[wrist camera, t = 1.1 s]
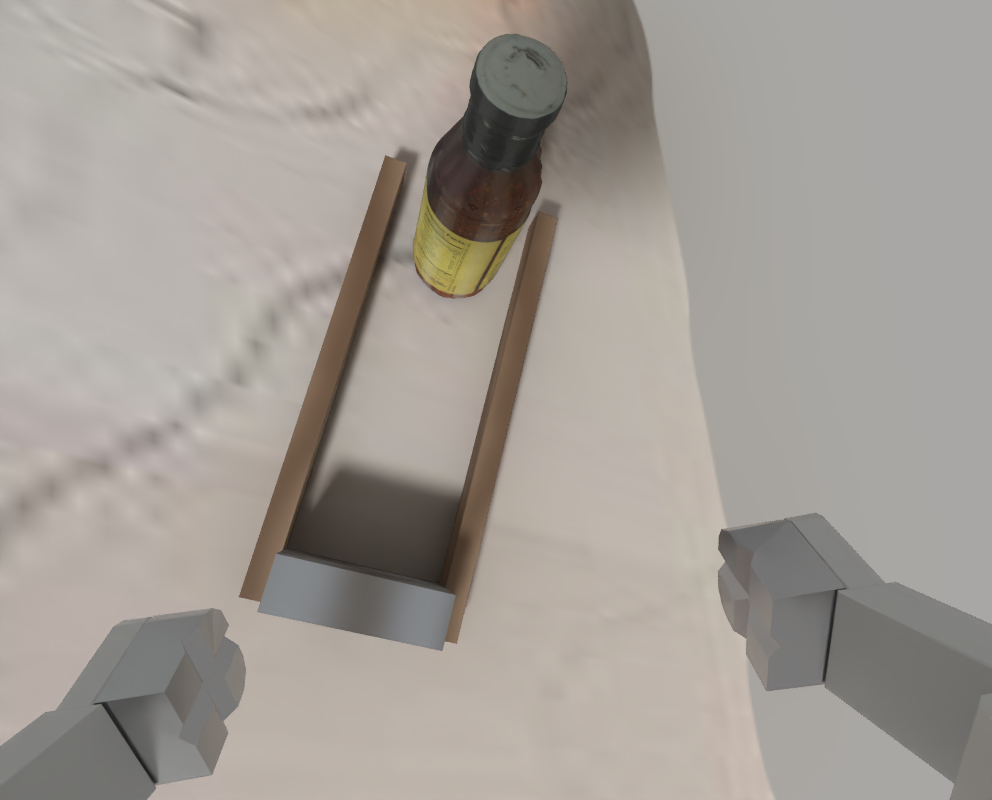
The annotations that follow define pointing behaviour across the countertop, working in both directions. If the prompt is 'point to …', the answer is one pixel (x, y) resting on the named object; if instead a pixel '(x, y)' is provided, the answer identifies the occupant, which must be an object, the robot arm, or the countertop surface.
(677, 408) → the countertop surface
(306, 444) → the walnut track
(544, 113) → the sauce bottle
